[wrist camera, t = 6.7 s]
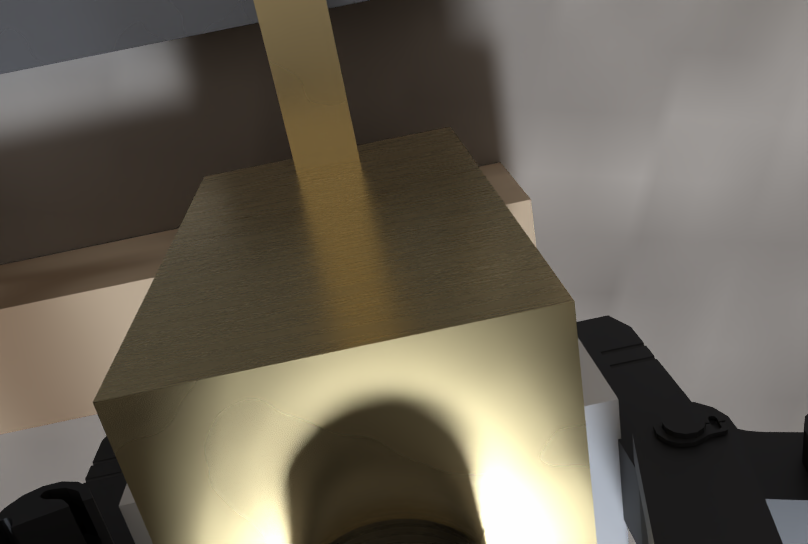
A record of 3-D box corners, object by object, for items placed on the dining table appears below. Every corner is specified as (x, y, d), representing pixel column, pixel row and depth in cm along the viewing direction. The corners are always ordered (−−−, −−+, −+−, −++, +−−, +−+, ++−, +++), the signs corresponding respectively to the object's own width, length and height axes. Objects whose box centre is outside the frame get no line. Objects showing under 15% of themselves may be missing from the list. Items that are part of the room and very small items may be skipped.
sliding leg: (291, 418, 19) (259, 952, 9) (78, -301, 13) (-838, -1230, 3) (481, 377, 19) (662, 861, 9) (364, -355, 13) (527, -1445, 3)
